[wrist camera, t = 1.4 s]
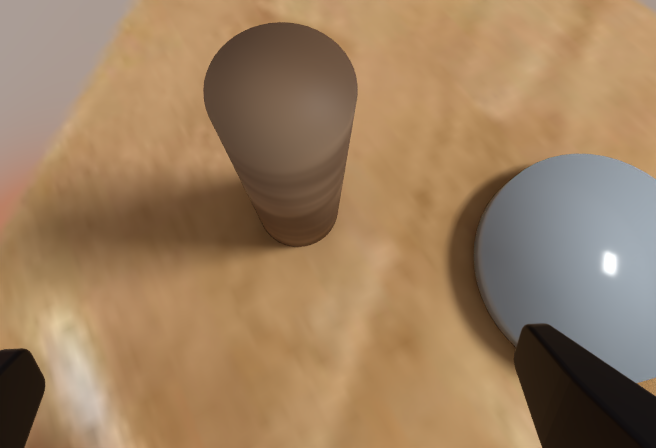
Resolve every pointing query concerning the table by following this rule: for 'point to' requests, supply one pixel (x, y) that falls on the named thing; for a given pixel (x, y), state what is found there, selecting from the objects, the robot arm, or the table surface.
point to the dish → (575, 257)
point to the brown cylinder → (285, 124)
